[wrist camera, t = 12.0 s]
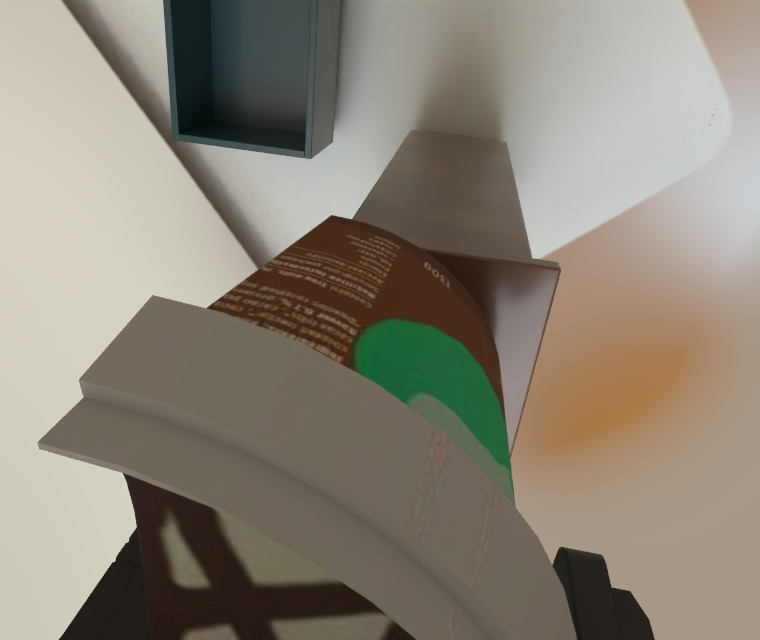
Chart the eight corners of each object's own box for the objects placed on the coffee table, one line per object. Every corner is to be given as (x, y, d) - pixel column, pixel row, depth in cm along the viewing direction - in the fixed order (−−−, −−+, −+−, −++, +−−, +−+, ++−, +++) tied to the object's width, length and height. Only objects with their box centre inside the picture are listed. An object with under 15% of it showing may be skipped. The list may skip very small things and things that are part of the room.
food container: (501, 562, 19) (493, 1035, 10) (319, 522, 19) (165, 927, 11) (601, 188, 13) (795, 552, 4) (334, 155, 14) (22, 394, 5)
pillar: (507, 142, 35) (537, 274, 17) (488, 234, 38) (496, 437, 19) (410, 129, 36) (333, 244, 17) (399, 221, 39) (323, 407, 20)
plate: (559, 261, 16) (561, 269, 16) (508, 452, 20) (509, 463, 19) (318, 225, 17) (313, 232, 16) (308, 415, 20) (303, 426, 20)
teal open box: (349, -133, 30) (325, -163, 26) (332, 142, 37) (311, 159, 32) (201, -147, 31) (150, -178, 26) (211, 125, 38) (172, 140, 33)
